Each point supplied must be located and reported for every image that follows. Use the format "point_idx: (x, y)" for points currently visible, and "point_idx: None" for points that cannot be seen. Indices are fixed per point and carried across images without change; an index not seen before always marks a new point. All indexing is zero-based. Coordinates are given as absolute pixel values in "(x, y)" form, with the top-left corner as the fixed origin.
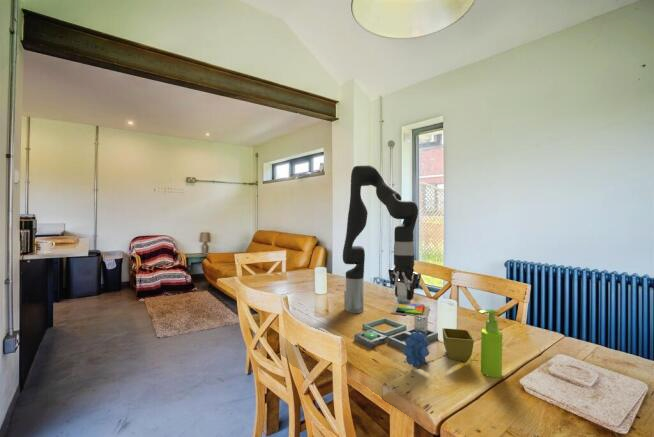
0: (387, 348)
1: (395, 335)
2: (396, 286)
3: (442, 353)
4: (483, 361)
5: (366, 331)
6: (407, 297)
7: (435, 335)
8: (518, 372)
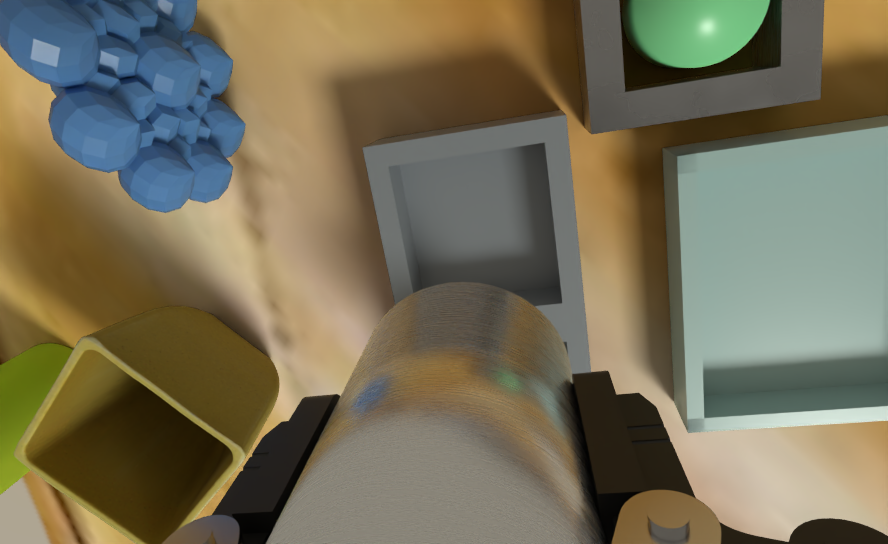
0: (527, 79)
1: (555, 198)
2: (622, 515)
3: (305, 352)
4: (7, 375)
5: (807, 21)
6: (320, 412)
7: None
8: (38, 480)
